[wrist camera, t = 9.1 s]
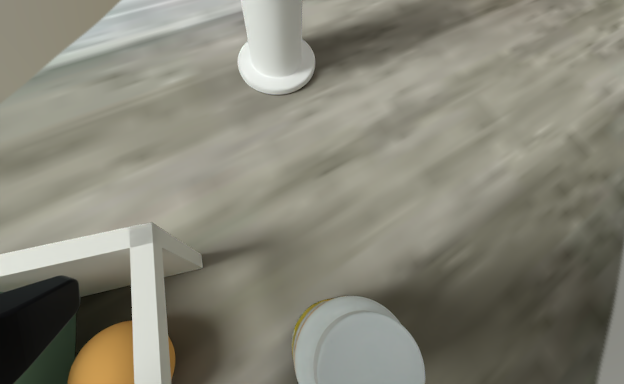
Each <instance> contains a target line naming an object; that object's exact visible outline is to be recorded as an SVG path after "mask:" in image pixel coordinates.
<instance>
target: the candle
mask: <svg viewBox="0 0 624 384" xmlns="http://www.w3.org/2000/svg"><path fill="white" fill-rule="evenodd" d="M241 3H242V9H243V14H244V20H245V26H246V31H247V37H248V41H247V42H246V43H245V44H244V45H243V47H242V48H241V50H240V52H239V55H238V68H239V72H240V74H241V76H242V78H243V79H244V81H245V82H246V83H247V84H248V85H249V86H251V87H252V88H254V89H255V90H257V91H260V92H263V93H266V94H273V95H281V94H288V93H291V92H294V91H296V90H298V89H300V88H302V87H303V86H304V85H306V84H307V83H308V82H309V80H310V79H311V77H312V75H313V73H314V70H315V56H314V53H313V50H312V49H311V47H310V46H309V45H308V43H307V42H305V41H304V40H303V39H302V0H241Z"/></svg>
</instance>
